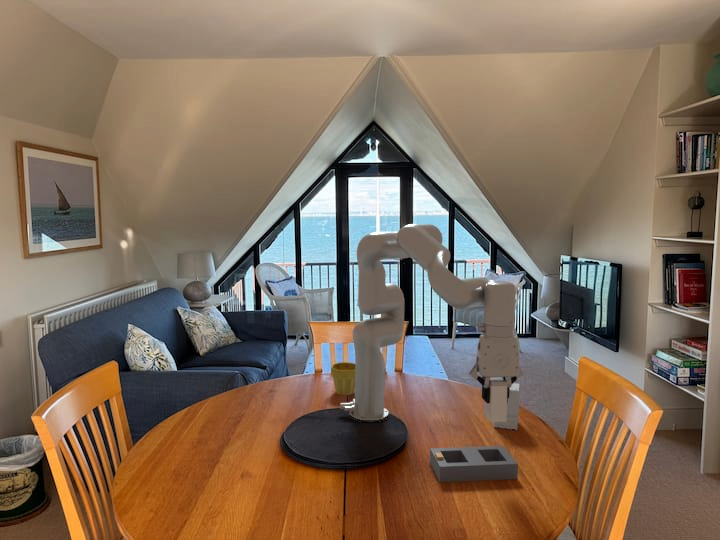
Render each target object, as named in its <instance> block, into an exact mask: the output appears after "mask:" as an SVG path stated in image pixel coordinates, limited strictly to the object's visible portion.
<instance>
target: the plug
mask: <svg viewBox="0 0 720 540" xmlns="http://www.w3.org/2000/svg"><path fill="white" fill-rule="evenodd" d="M489 388H490V403H486V402H485V401H484V400H483V401H484V405H483V406H484V407H483V408H484V409H483V410H484V411H483V412H484V413H483V415H484V417H486V419H487V420H489V421H490V422H491V423H494V422H506V421H507V381H505V380H504V379H503V378H502V377H491V378H490V382H489Z"/></svg>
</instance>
